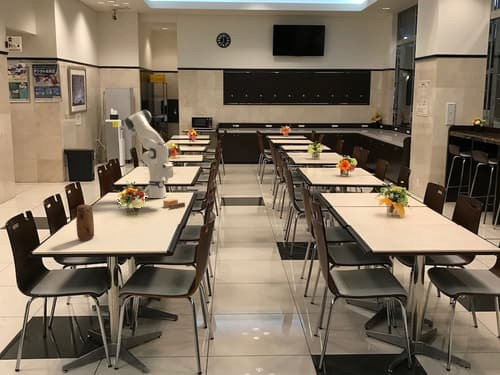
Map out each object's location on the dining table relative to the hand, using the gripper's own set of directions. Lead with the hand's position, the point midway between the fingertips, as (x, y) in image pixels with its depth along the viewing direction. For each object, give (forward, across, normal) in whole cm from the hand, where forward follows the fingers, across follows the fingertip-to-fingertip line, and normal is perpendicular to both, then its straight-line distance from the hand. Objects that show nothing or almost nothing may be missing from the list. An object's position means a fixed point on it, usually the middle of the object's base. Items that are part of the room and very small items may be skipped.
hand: (163, 182), depth 394 cm
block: (+17, +46, -89) cm, 102 cm away
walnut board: (+17, +16, 0) cm, 23 cm away
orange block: (+17, +8, 0) cm, 19 cm away
